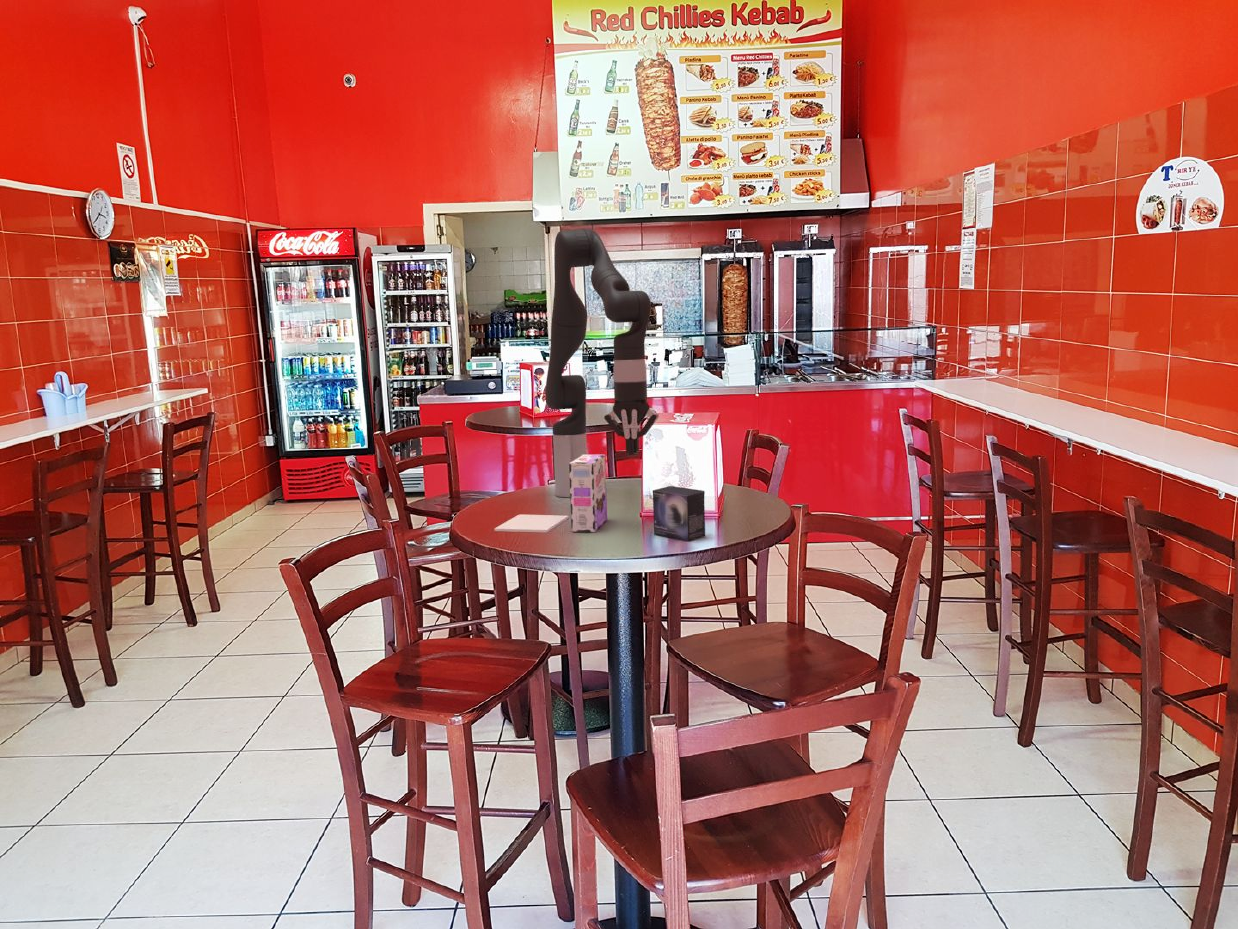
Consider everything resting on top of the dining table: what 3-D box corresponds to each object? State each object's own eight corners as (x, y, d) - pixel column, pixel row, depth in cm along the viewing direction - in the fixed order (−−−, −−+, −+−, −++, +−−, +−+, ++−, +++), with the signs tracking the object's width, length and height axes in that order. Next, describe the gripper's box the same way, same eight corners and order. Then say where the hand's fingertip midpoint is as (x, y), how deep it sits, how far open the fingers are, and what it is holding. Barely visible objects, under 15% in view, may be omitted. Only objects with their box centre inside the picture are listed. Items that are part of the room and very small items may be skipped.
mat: (519, 516, 240) (519, 514, 240) (568, 518, 237) (568, 515, 237) (494, 531, 225) (494, 528, 225) (546, 532, 222) (546, 530, 222)
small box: (651, 535, 216) (650, 489, 214) (671, 530, 220) (670, 485, 219) (687, 542, 208) (686, 494, 207) (706, 536, 213) (705, 490, 211)
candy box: (595, 533, 220) (592, 462, 217) (570, 532, 221) (567, 462, 219) (608, 520, 233) (605, 453, 231) (584, 519, 235) (582, 453, 232)
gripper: (662, 377, 221) (664, 452, 223) (607, 378, 224) (609, 452, 227) (654, 380, 214) (656, 457, 216) (597, 381, 217) (600, 456, 220)
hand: (632, 454), depth 222 cm, fingers closed
